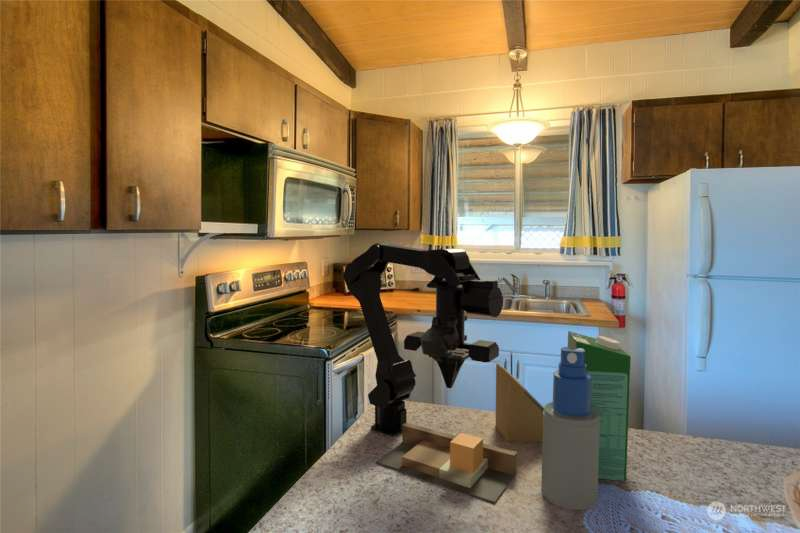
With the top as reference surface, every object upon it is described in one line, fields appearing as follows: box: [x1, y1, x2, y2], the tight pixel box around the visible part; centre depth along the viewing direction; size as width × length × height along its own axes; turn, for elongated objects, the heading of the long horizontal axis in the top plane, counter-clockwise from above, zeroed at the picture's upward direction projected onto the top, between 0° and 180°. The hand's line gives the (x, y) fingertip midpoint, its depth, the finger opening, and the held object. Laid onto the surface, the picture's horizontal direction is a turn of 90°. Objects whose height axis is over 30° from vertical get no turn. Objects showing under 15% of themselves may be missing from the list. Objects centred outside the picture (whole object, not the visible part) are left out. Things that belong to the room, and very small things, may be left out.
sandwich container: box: [495, 363, 545, 443], centre depth 98 cm, size 9×15×15 cm, turn 96°
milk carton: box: [567, 330, 632, 482], centre depth 83 cm, size 9×9×25 cm
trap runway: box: [375, 422, 518, 504], centre depth 83 cm, size 24×11×4 cm, turn 57°
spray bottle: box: [540, 346, 600, 511], centre depth 74 cm, size 9×9×25 cm
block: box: [450, 432, 484, 473], centre depth 81 cm, size 4×4×4 cm
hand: (449, 387), depth 90 cm, fingers closed
